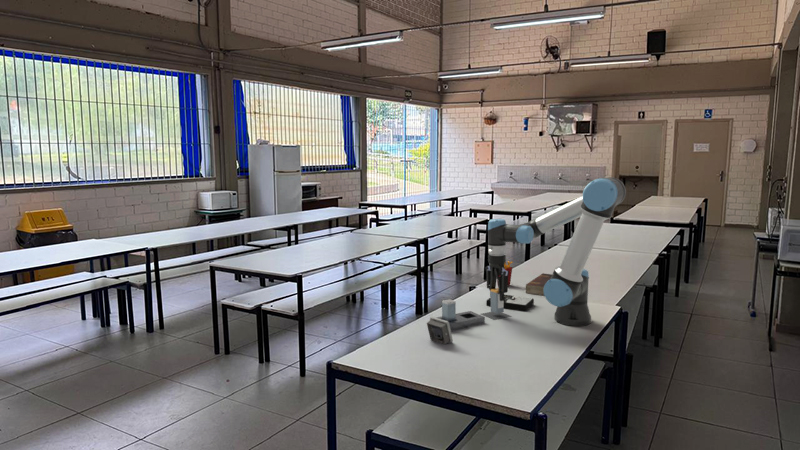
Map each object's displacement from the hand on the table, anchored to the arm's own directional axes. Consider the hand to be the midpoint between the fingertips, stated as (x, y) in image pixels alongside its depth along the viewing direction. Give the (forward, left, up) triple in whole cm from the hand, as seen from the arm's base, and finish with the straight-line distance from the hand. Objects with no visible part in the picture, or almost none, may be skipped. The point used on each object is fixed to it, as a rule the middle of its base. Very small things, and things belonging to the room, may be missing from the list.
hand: (497, 306), depth 237 cm
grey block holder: (0, +21, -5) cm, 22 cm away
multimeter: (+10, -16, -5) cm, 19 cm away
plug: (0, 0, -2) cm, 2 cm away
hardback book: (+22, -55, -5) cm, 59 cm away
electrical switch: (-13, +39, -5) cm, 42 cm away
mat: (+1, 0, -5) cm, 5 cm away
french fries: (+42, -38, -5) cm, 57 cm away
